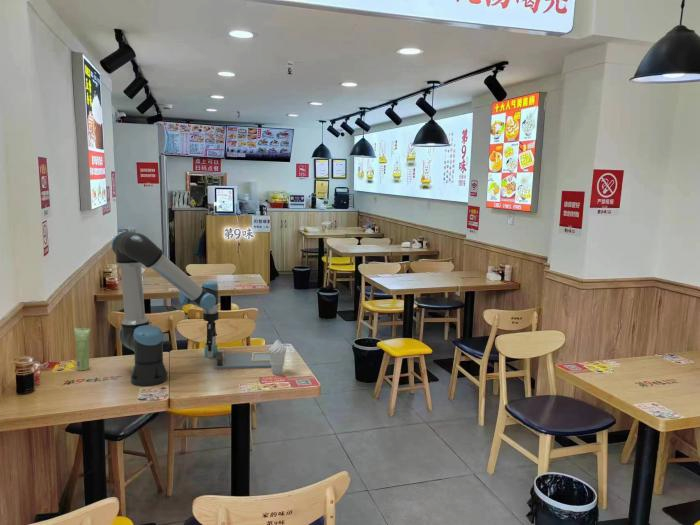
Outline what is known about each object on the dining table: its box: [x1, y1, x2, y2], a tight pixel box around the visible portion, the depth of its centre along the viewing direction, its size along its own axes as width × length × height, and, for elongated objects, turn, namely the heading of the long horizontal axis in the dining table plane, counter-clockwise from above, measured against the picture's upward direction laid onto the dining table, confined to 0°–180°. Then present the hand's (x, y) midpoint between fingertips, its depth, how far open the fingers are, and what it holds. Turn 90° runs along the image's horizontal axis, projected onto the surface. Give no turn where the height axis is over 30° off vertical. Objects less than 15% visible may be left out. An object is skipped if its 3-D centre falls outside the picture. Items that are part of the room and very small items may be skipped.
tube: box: [73, 327, 91, 371], centre depth 239 cm, size 6×5×20 cm
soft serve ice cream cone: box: [267, 339, 287, 376], centre depth 240 cm, size 8×8×16 cm
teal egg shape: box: [204, 343, 219, 359], centre depth 263 cm, size 6×6×6 cm
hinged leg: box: [215, 347, 226, 365], centre depth 252 cm, size 14×3×6 cm, turn 9°
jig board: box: [214, 351, 272, 370], centre depth 256 cm, size 30×20×2 cm, turn 99°
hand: (211, 352), depth 264 cm, fingers open, 13 cm apart
